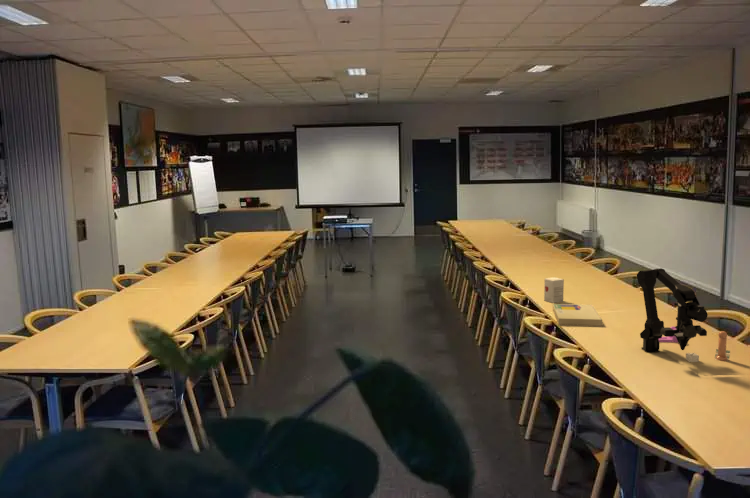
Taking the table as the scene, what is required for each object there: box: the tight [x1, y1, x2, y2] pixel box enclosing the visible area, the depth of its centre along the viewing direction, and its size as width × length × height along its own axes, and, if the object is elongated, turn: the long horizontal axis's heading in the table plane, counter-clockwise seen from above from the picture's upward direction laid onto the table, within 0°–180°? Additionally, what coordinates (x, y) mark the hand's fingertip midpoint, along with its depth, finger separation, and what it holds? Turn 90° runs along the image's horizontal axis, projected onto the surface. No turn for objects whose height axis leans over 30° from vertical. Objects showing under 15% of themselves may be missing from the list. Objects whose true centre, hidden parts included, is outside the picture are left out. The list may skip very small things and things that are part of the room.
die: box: [685, 352, 700, 363], centre depth 294 cm, size 4×4×4 cm
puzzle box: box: [552, 303, 603, 327], centre depth 377 cm, size 36×5×24 cm
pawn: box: [716, 330, 728, 362], centre depth 294 cm, size 5×5×13 cm
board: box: [714, 348, 731, 362], centre depth 300 cm, size 20×6×1 cm, turn 150°
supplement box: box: [543, 276, 565, 304], centre depth 419 cm, size 9×9×15 cm
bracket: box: [658, 326, 680, 343], centre depth 328 cm, size 13×6×7 cm, turn 83°
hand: (682, 349), depth 293 cm, fingers closed
